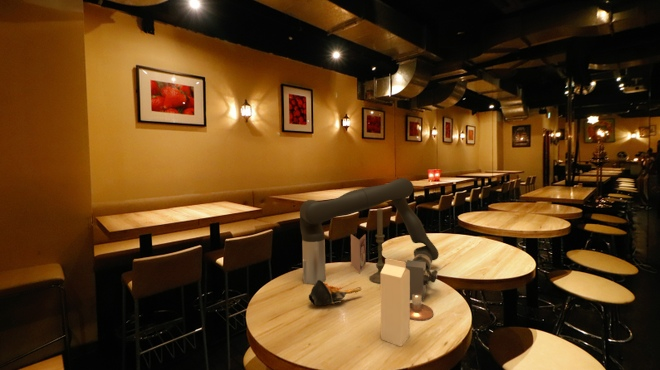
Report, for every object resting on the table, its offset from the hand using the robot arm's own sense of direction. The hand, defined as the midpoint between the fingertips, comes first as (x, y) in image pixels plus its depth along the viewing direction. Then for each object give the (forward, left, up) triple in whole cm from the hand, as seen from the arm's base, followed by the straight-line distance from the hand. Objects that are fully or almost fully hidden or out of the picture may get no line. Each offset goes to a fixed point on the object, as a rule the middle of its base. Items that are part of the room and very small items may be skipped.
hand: (414, 281), depth 105 cm
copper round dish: (-3, -9, -6) cm, 11 cm away
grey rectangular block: (+1, +2, -6) cm, 7 cm away
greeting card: (-14, +33, -7) cm, 36 cm away
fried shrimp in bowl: (-28, +2, -7) cm, 29 cm away
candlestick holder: (-7, +19, -7) cm, 21 cm away
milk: (-14, -21, -7) cm, 26 cm away
